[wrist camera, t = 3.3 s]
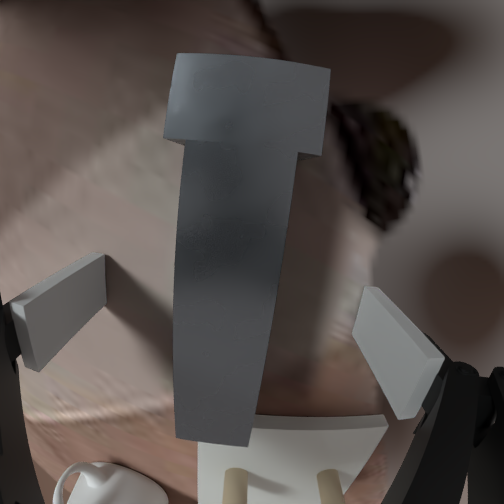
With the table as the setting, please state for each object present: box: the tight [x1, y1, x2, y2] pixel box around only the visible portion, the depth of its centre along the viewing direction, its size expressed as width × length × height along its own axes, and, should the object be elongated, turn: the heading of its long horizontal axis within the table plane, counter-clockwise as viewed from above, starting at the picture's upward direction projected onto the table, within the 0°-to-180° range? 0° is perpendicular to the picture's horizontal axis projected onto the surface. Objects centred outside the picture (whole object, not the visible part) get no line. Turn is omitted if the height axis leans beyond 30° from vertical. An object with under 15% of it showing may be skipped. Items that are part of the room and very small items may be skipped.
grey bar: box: [163, 53, 331, 447], centre depth 12 cm, size 16×5×4 cm, turn 173°
